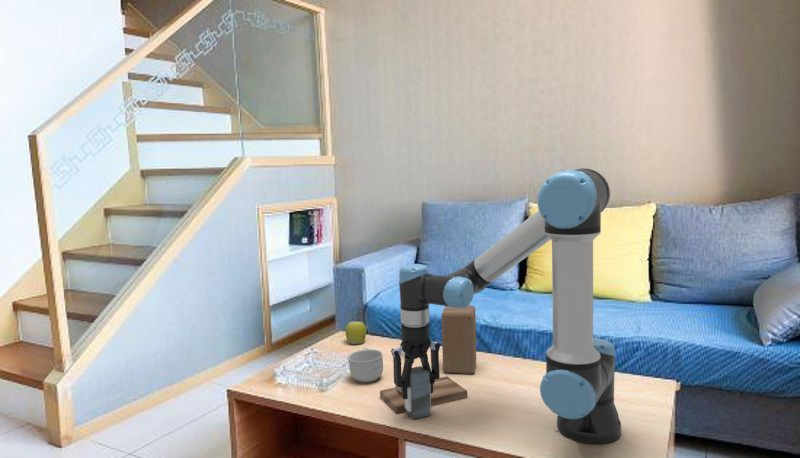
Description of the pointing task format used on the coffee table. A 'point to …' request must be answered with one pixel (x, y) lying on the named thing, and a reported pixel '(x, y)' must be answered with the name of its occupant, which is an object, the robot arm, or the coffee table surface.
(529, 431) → the coffee table surface
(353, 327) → the apple
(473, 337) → the wooden block
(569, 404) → the robot arm
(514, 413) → the coffee table surface
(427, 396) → the grey block
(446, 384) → the board
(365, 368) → the teacup
